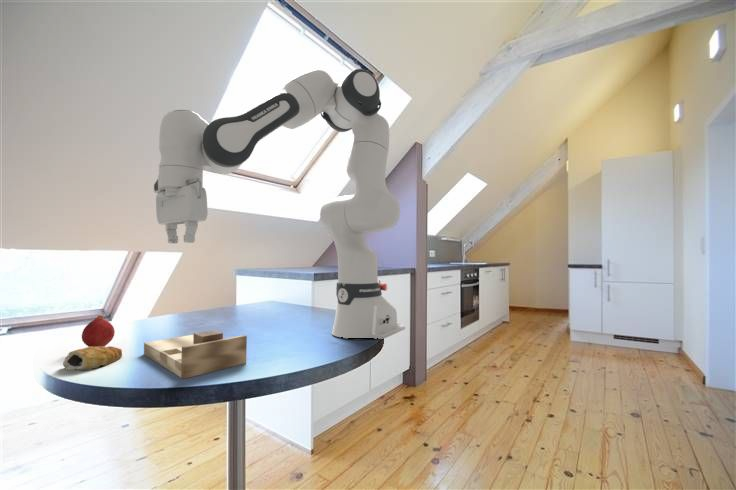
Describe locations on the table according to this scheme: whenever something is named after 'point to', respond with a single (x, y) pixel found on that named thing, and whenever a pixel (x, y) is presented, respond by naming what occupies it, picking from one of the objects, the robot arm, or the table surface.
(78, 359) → the pastry
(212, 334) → the walnut block
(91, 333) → the onion
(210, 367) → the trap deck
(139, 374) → the table surface
